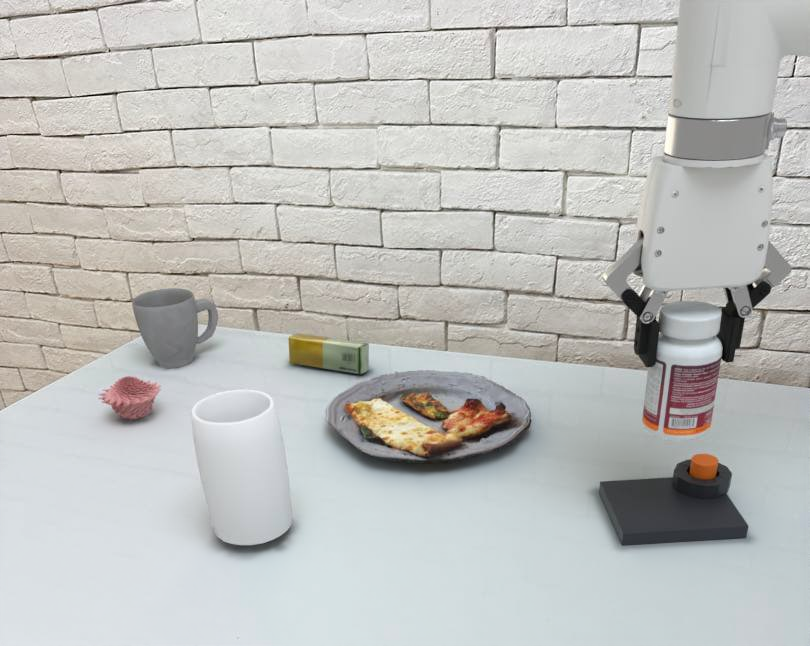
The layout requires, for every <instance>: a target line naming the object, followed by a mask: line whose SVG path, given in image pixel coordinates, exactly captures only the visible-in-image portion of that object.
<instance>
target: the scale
mask: <svg viewBox="0 0 810 646" xmlns="http://www.w3.org/2000/svg"><path fill="white" fill-rule="evenodd" d="M691 459H692V458H689V459H685V460H682V461H680V462H678V463H677V464H676V465H675V467H674V469H673V475H672V476H671V477H670V476H669V477H652V478H650V477H649V478H635V479H634V478H633V479H619V480H603V481H599V487H598V495H599V497H600V499H601V501H602V503H603V506H604V508H605V510H606V512H607V514H608V516H609V519H610V521H611V523H612V526H613V528H614V530H615V533H616V534H617V537H618V539H619V541H620V543H621V546H632V545H633V546H634V545H648V544H665V543H667V544H668V543H681V542H683V543H685V542H698V541H699V542H701V541H715V540H716V541H717V540H733V539H746V538H747V535H748V531H749V524H748V523H747V521H746V519H745V518H744V517H743V515H742V514H741V513H740V511H739V509H738V508H737V507H736V505H735V504H734V502H733V501H732V500H731V498H730V496H729V495H728V492H729V490H730V488H731V483H732V478H733V473H732V471H731V470H730V469H729V467H728V466H727V465H724V464H723V463H720V462H718V467H717V473H716V477H715V478H714V479H705V480H704V479H699V478H695V477H693V476H691V475H690V474H689V472H690V465H691Z"/></svg>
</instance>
